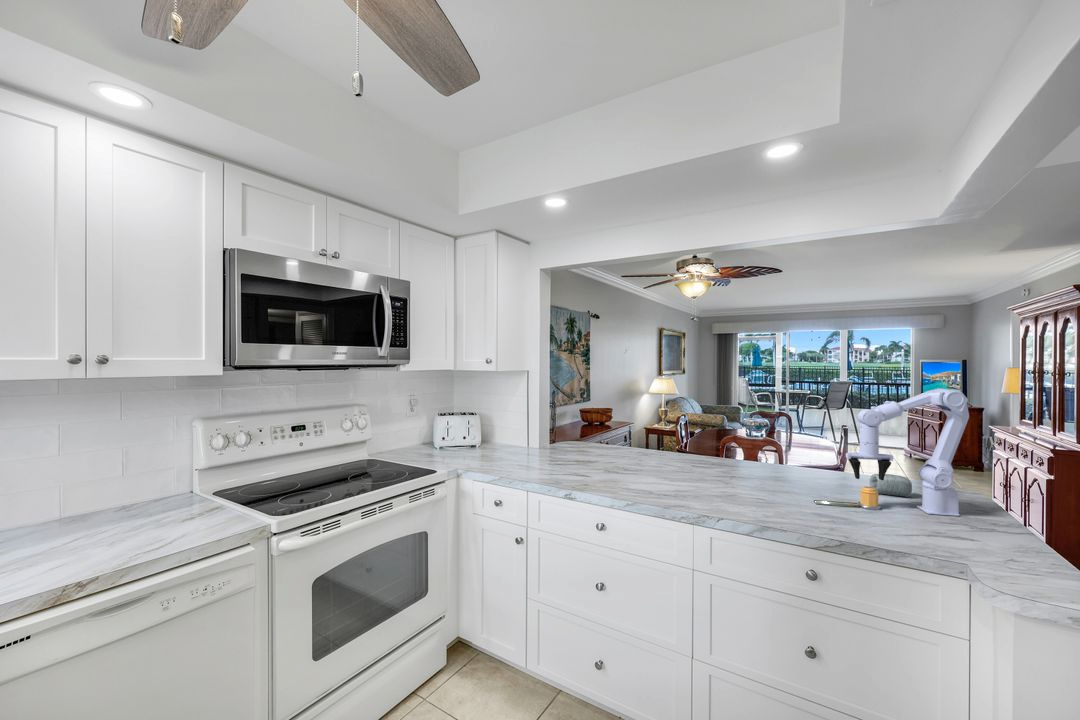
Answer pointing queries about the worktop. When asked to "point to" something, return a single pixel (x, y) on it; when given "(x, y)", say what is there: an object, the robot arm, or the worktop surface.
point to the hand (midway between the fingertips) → (869, 479)
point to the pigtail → (847, 504)
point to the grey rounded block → (891, 485)
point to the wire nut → (869, 496)
